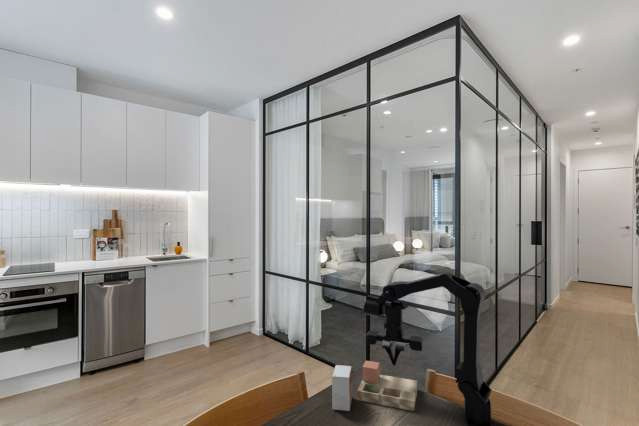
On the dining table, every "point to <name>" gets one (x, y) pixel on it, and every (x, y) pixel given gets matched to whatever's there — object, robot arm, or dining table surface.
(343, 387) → the small box
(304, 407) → the dining table surface
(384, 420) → the dining table surface
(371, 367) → the block
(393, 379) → the beige divided tray
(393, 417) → the dining table surface
